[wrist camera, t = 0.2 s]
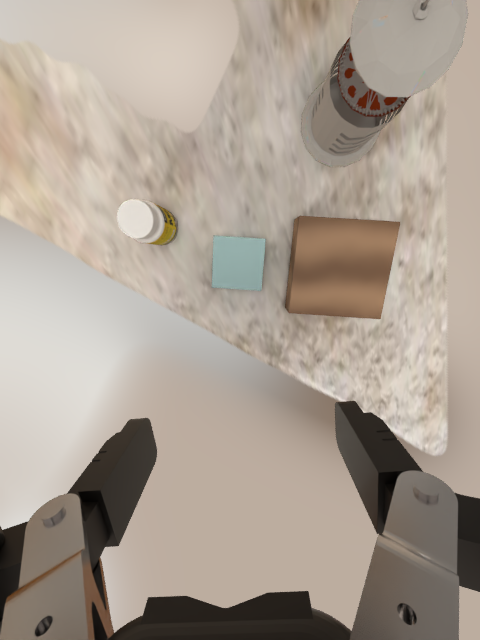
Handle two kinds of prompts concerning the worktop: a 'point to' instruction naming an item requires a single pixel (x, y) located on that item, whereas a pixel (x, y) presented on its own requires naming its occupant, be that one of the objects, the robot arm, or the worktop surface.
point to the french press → (380, 73)
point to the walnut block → (340, 266)
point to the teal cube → (238, 262)
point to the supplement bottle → (146, 222)
